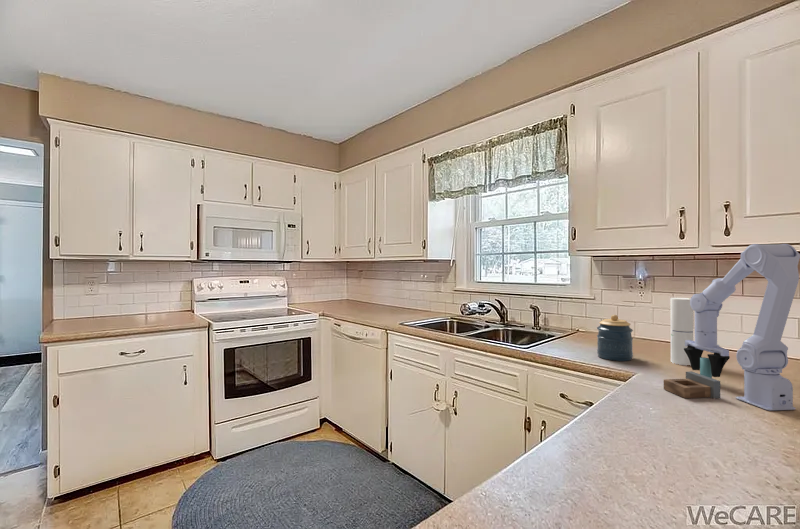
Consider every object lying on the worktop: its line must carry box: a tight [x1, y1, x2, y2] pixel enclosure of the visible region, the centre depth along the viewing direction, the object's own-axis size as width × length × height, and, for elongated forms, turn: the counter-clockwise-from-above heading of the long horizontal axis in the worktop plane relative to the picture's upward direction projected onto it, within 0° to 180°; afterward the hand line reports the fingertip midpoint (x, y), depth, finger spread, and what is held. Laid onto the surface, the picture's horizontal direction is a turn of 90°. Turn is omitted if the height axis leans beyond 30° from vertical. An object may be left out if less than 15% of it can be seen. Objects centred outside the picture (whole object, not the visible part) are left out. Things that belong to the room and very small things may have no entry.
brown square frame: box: [663, 378, 711, 399], centre depth 116 cm, size 8×8×3 cm
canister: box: [596, 314, 634, 362], centre depth 160 cm, size 13×13×18 cm
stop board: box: [685, 370, 721, 399], centre depth 116 cm, size 10×2×5 cm, turn 4°
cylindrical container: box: [669, 297, 694, 366], centre depth 150 cm, size 7×7×25 cm
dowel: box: [699, 356, 713, 379], centre depth 125 cm, size 3×3×8 cm
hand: (705, 373), depth 126 cm, fingers open, 7 cm apart
